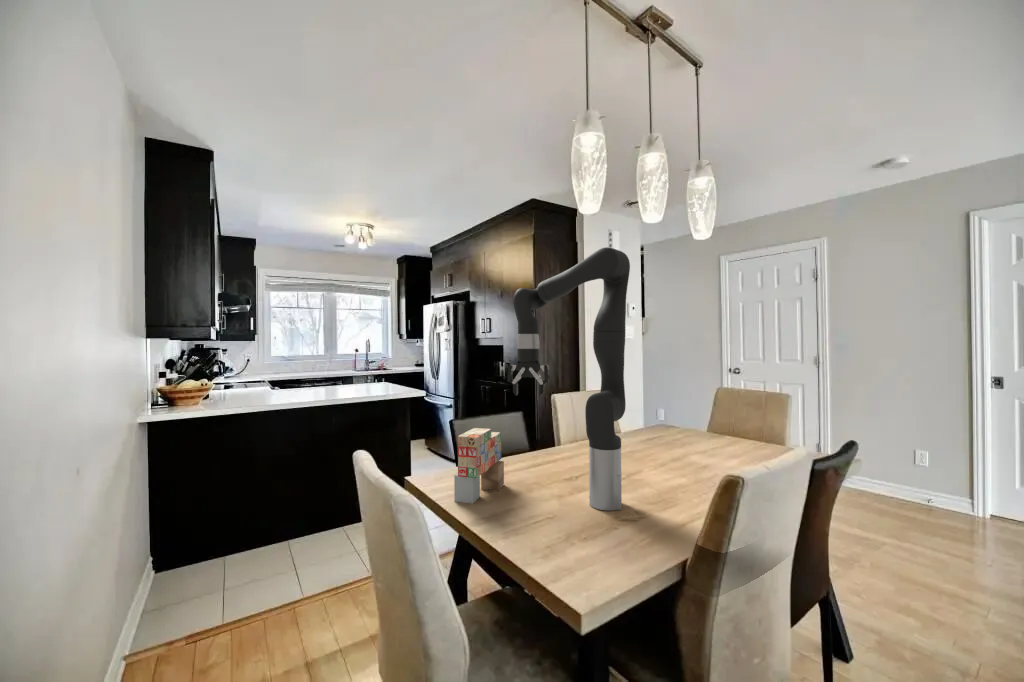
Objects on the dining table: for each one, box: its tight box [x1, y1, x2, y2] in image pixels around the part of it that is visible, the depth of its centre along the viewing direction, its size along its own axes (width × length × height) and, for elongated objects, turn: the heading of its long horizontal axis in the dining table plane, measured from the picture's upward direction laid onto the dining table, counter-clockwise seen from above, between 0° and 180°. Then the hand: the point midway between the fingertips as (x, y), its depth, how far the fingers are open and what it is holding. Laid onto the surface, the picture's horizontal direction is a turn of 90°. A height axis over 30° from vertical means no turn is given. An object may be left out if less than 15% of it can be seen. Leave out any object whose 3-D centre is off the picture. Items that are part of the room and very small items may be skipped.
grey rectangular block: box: [453, 472, 481, 504], centre depth 128 cm, size 6×6×8 cm
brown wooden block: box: [480, 460, 505, 491], centre depth 139 cm, size 6×6×8 cm
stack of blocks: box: [457, 427, 502, 478], centre depth 134 cm, size 21×6×12 cm, turn 162°
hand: (528, 395), depth 142 cm, fingers open, 8 cm apart
